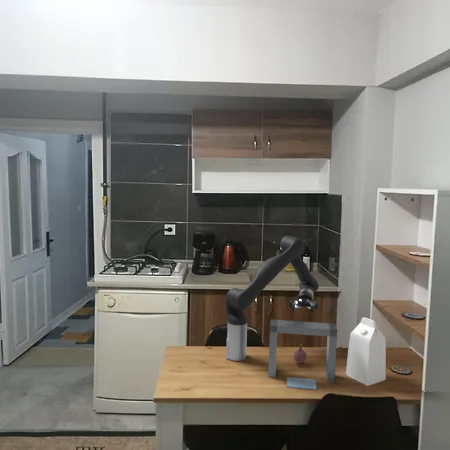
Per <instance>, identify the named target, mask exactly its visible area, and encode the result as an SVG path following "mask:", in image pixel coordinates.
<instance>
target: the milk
mask: <svg viewBox="0 0 450 450" xmlns="http://www.w3.org/2000/svg"><path fill="white" fill-rule="evenodd" d="M348 343H349V349H347V361H346V369H345V375H346V376H347V377H349V378H352V379H353V380H354V381H355V380H356V381H357V382H360V383H361V384H363V385H365V386H367V387H368V386H372V385H374V384H377V383H380V382H383V381H386V378H387V377H386V376H387V375H386V372H387V371H386V365H387V362H386V361H387V359H386V355H387V354H386V351H387V350H386V349H387V348H386V347H387V345H386V337H385V335H384V334H383V333H382V332H381V331H380V329H378V326H377V323H376V321H375V320H373V319H370V318H368V317H362V318H361V320H360V322H359V323H358V325H357V326H355V328H354V329H353V330H352V331H351V332H350V335H349V341H348Z"/></svg>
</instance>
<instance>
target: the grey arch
mask: <svg viewBox="0 0 450 450" xmlns="http://www.w3.org/2000/svg"><path fill="white" fill-rule="evenodd" d="M336 325H337V324H336V323H330V322H329V323H328V322H315V321H311V322H310V321H298V320H285V319H270V322H269V344H268V345H269V347H268V348H269V349H268V376H267V378H276V371H277V349H278V348H277V347H278V346H277V345H278V342H277V341H278V334H289V335H292V334H293V335H305V336H317V337H319V336H320V337H326V338H327V339H326V340H327V341H326V359H325V362H326V363H325V378H326V382H327V383H333V384H334V383H335V382H336V381H335V380H336V362H337V361H336V360H337V345H338V343H337V340H338V328H337V326H336Z"/></svg>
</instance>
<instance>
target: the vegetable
mask: <svg viewBox="0 0 450 450" xmlns="http://www.w3.org/2000/svg"><path fill="white" fill-rule="evenodd" d="M302 348H303V343H301V344H300V345H299V349H298V350H296V351H295V352H294V353H293V358H294V359H293V360H294V361H295V362H296V363H298V364H300V365H301V364H304V362H306V361H307V358H308V353H306V351H305V350H303V349H302Z"/></svg>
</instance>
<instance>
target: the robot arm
mask: <svg viewBox="0 0 450 450" xmlns="http://www.w3.org/2000/svg"><path fill="white" fill-rule="evenodd" d="M304 249H305V242H304V240H303V239H301V238H299V237H296V236H292V235H285V236H283V237H282V238H281V240H280V250H281V251H282V253H280V254H278V255H275V256H273V257H270V258H268V259H266V260H264V261H263V263H261V264H260V265H259V266H258V267H257V268H256V270H255V272H254V276H253V280H252V282H251V283H250V284H249V285H248V286H247V287H246V288H245V289H241V288H238V287H233V288H230V289H229V290H228V291H227V293H226V297H225V313H226V314H225V316H226V318H227V336H226V350H225V351H226V354H225V357H226V358H225V359H227V360H230V361H237V362H238V361H243V360H245V359H247V342H248V341H247V339H248V338H247V336H248V333H247V332H248V317H247V315H246V314H245V313H244V311H245V310H247V309H248V308H249V307H250V306H251V305H252V304H253V302H255V300H256V299H257V297H259V294H261V293H262V291H263V290H264V289H265V288H266V287H267V286H268V285H269V284H270V283H271V282H272V281H273V280H275V278H276V277H277V276H279V274H280V273H281V272H282V271H283V270H284V269H285V268H286V267H287V266H288V265H289V264H291V266H292V268H293V269H294V271H295V274H296V275H297V278H298V280H299V281H300V282H299V284H298V288H299V290H300V291H299V294H298V297H297V299H296V300H294V299H293V298H291V299H290V300H289V303H288V307H289V309H291V311H292V312H294V313H295V311H296V309H299V308H300V309H301V308H307V309H309V310H310V314H311V313H313V312H315V310H316V311H317V310H319V300H315V301H314V293H315V292H316V291H318V289H319V288H320V285H319V282H318V280H317V279H316V278H315V277H314V276H313V274H311V271H310V268H309V267H308V265H307V264H306V262H305V261H304V260H303V259H302V258H301V257H300V255H301V254H302V253H303V251H304Z"/></svg>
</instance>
